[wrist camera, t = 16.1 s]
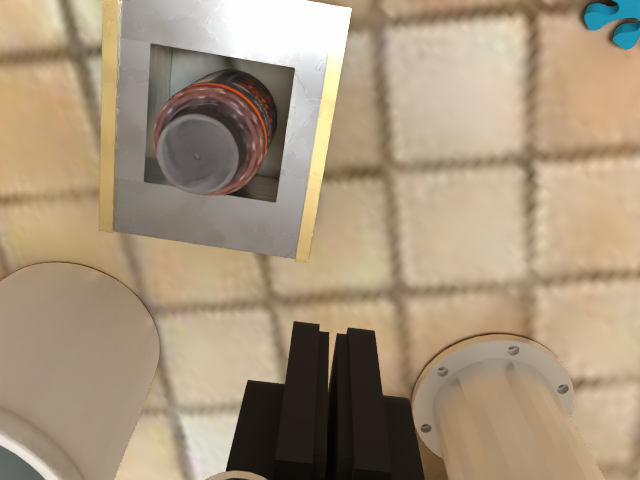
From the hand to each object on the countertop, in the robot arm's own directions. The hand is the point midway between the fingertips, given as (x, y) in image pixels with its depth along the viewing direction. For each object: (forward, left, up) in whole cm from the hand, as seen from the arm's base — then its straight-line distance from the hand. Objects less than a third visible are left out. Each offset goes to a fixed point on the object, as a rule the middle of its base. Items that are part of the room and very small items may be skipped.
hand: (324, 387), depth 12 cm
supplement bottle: (-1, +6, -29) cm, 29 cm away
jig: (0, +6, -28) cm, 29 cm away
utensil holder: (-20, +16, -29) cm, 39 cm away
